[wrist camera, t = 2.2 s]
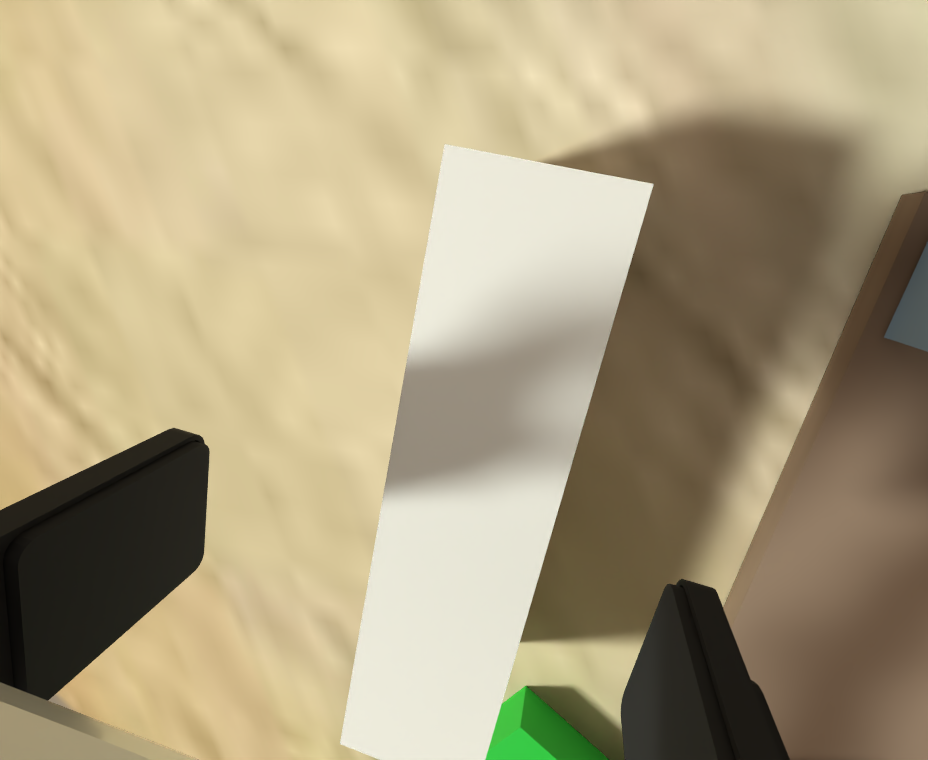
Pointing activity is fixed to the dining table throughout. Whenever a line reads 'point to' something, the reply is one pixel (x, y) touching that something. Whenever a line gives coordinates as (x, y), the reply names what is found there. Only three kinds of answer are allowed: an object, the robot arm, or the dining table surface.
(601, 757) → the mechanical part
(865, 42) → the dining table surface
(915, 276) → the sliding end cap
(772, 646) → the endcap rack
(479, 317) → the slat
